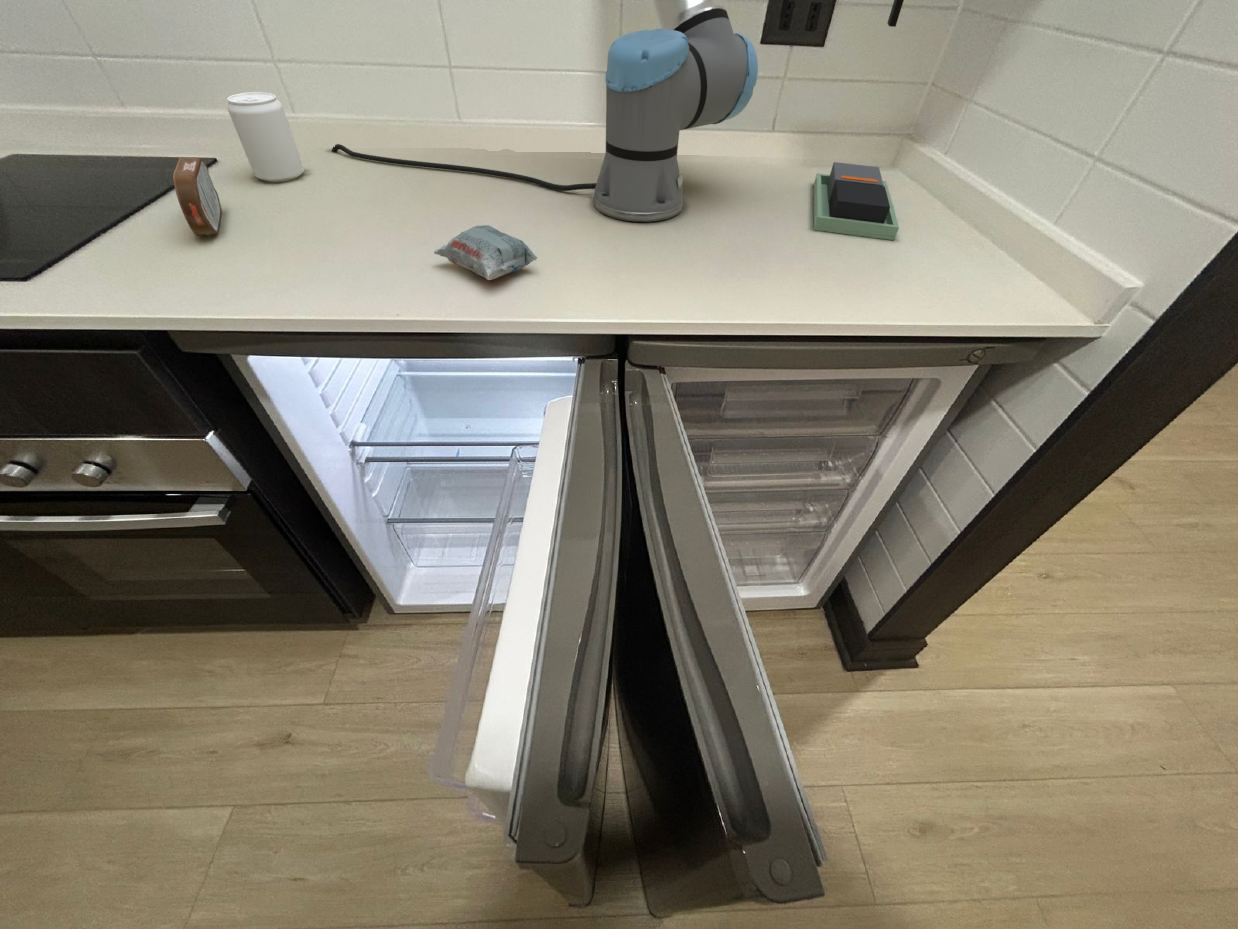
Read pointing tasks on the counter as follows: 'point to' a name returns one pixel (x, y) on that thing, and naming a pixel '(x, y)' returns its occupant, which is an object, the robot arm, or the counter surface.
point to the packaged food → (487, 252)
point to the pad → (853, 175)
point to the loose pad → (859, 202)
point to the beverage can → (265, 136)
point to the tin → (197, 196)
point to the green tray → (847, 225)
